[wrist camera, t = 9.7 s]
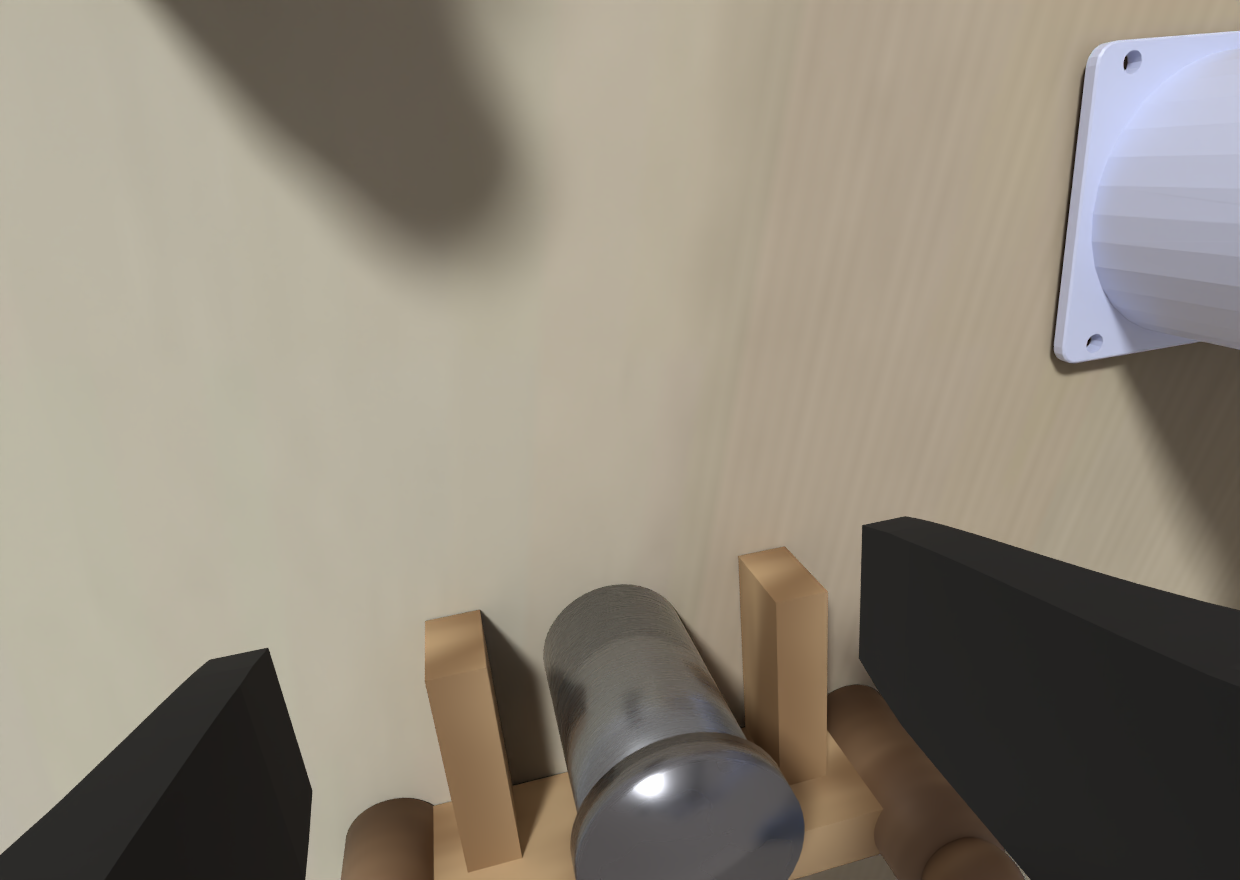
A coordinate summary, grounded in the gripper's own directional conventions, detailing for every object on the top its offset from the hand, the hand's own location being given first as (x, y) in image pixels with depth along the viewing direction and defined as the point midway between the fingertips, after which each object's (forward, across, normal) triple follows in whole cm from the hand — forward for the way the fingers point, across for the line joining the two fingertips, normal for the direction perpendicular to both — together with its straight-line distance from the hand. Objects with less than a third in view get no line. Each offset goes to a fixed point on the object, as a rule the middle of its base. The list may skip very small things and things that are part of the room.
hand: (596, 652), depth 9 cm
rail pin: (+10, -2, +7) cm, 12 cm away
